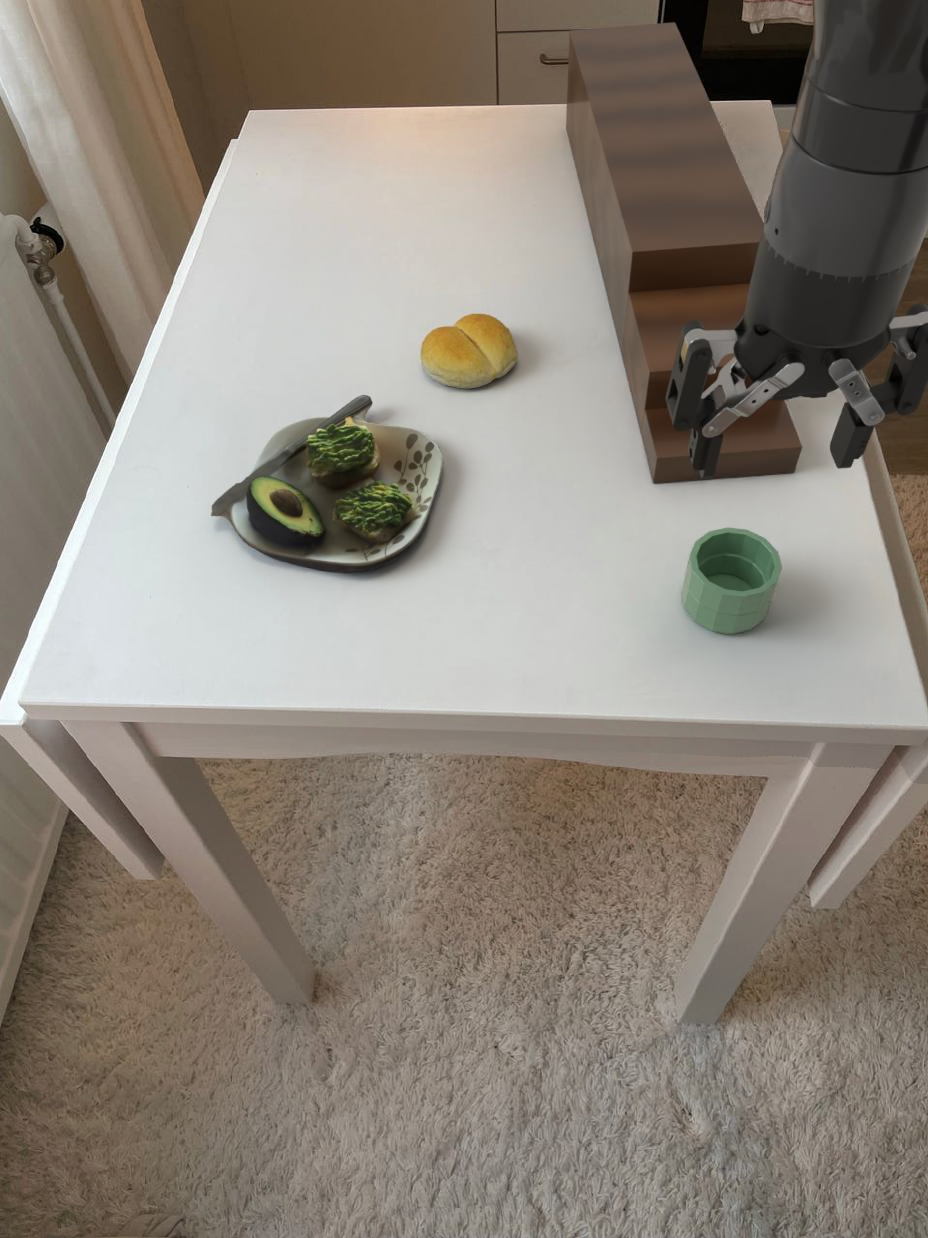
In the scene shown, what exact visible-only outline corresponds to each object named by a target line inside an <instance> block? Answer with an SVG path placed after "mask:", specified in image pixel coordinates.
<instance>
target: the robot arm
mask: <svg viewBox="0 0 928 1238" xmlns="http://www.w3.org/2000/svg"><path fill="white" fill-rule="evenodd" d="M811 3H812V20H813V23H812V25H813V28H812V29H813V31H812V32H813V33H812V34H813V35H812V40H811V43H810V46H809V50H808V54H807V58H806V61H805V65H804V69H803V74H802V78H801V83H800V87H799V90H798V95H797V100H796V104H795V108H794V114H793V118H792V122H791V126H790V128H789V129H790V130H789V134H788V137H787V139H786V142H785V145H784V148H783V151H782V153H781V156H780V158H779V161H778V164H777V167H776V169H775V174H774V177H773V180H772V185H771V189H770V194H769V195H768V198H767V200H766V201H765V205H764V211H763V219H764V221H763V223H764V224H763V229H762V234H761V238H760V242H759V246H758V251H757V255H756V260H755V264H754V269H753V273H752V277H751V282H750V286H749V291H748V296H747V302H746V309H745V312H744V314H743V316H742V318H741V319H740V321H739V322H738V323H737V324H736V325H735V327H734V328H733V330H705V329H704V326H703V324H702V322H701V321H699V320H691V321H689V322H687V323H686V324H685V325H684V326H683V327H682V331H681V335H680V339H679V343H678V347H677V352H676V356H675V360H674V364H673V368H672V372H671V377H670V381H669V385H668V389H667V393H666V402H667V406H668V409H669V413H670V416H671V420H672V424H673V427H674V429H675V430H677V431H680V432H682V431H687V430H689V429H690V428H691V429H692V431H691V436H690V441H689V446H688V452H689V456H690V459H691V463H692V466H693V469H694V471H699V473H700V476H701V478H713V477H714V475H715V471H716V466H717V462H718V458H719V454H720V449H721V445H722V441H723V434H722V432H723V431H724V430H725V429H726V428H727V427H728V426H729V425H731V424H732V423H733V422H734V421H735V420H736V419H738V418H739V417H740V416H743V417H748V416H750V415H751V414H752V413H753V412H755V411H756V410H757V409H758V408H759V407H760V406H762V405H763V404H764V403H765V402H766V401H767V400H769V399H770V398H771V399H772V401H781V400H784V401H788V400H791V399H796V398H798V397H803V398H808V399H818V398H827V397H828V394H829V393H832V392H834V391H836V390H838V389H839V390H840V391H841V393H842V394H843V396H844V398H845V399H846V400H847V401H844V403H843V406H842V409H841V412H840V415H839V417H838V420H837V423H836V425H835V428H834V431H833V434H832V437H831V440H830V443H829V451H830V454H831V457H832V459H833V462H834V464H835V467H836V468H837V469H850V468H852V466H853V464H854V461H855V460H859V459H860V458H861V457H862V456H863V455H864V454H865V452H866V449H867V446H868V444H869V441H870V439H871V437H872V434H873V432H874V429H875V427H876V425H878V424H879V423H881V422H882V421H883V420H884V418H885V416H888V415H890V414H893V413H896V412H897V414H898V415H900V416H909V415H911V414H913V413H915V412H916V411H917V410H918V408H919V406H920V404H921V401H922V398H923V395H924V393H925V390H926V387H927V384H928V305H927V304H925V303H916V304H914V305H912V306H911V307H909V309H907V311H906V312H905V315H904V316H895V315H896V312H897V310H898V307H899V305H900V302H901V300H902V297H903V294H904V292H905V289H906V286H907V283H908V281H909V278H910V276H911V272H912V271H913V267H914V266H915V262H916V260H917V257H918V255H919V252H920V249H921V246H922V244H923V241H924V238H925V236H926V233H927V231H928V0H812V1H811ZM889 344H891V346H892V348H893V349H894V350H893V353H892V355H891V360H890V363H889V366H888V368H887V372H886V375H885V378H884V381H883V382H881V383H878V384H875V385H872V384H871V383H870V381H869V379H868V378H867V376H866V375H865V373H864V371H863V369H864V368H865V367H866V366H867V365H869V363H871V362H872V361H873V360H874V359H876V357H878V356H879V355H880V354H881V353H882V352H883V351H885V349H886V348H888V346H889ZM729 354H734V355H735V357H734V358H733V359H731V360H730V361H729V362H728V363H727V364H726V365H725V366H724V367H723V368H722V369H721V370H720V372H719V375H718V379H717V380H716V381H715V382H714V383H713V384H712V385H711V386H710V387H709V388H708V389H707V390H706V391H705V392H703V389H704V385H705V382H706V378H707V374H714V373H715V372H716V367H717V366H718V365H719V363H720V361H721V360H722V358H724V357H725V356H727V355H729ZM746 375H748V377H749V378H750V379H751V381H752V382H753V384H752V385H751V386H750V387H749V388H748V389H746V386H745V384H744V380H745V377H746ZM702 392H703V393H702ZM724 401H725V402H724ZM723 402H724V403H723ZM722 403H723V404H722ZM721 404H722V405H721ZM719 405H721V406H720V407H719V408H717V407H718V406H719Z"/></svg>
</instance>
